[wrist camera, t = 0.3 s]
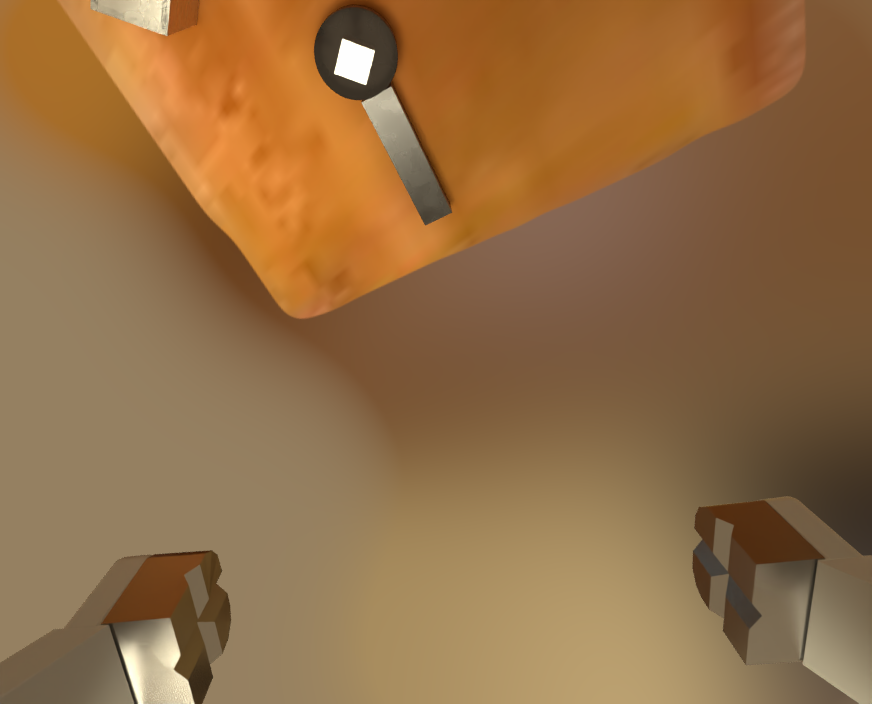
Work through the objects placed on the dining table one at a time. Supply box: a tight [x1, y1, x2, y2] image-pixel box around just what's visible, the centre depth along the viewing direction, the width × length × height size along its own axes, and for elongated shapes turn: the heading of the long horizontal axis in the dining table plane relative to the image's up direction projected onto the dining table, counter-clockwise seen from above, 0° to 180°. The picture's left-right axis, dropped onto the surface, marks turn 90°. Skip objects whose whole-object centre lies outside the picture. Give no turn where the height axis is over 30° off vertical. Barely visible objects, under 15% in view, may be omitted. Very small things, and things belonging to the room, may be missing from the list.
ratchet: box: [314, 5, 452, 225], centre depth 52 cm, size 20×7×6 cm, turn 25°
